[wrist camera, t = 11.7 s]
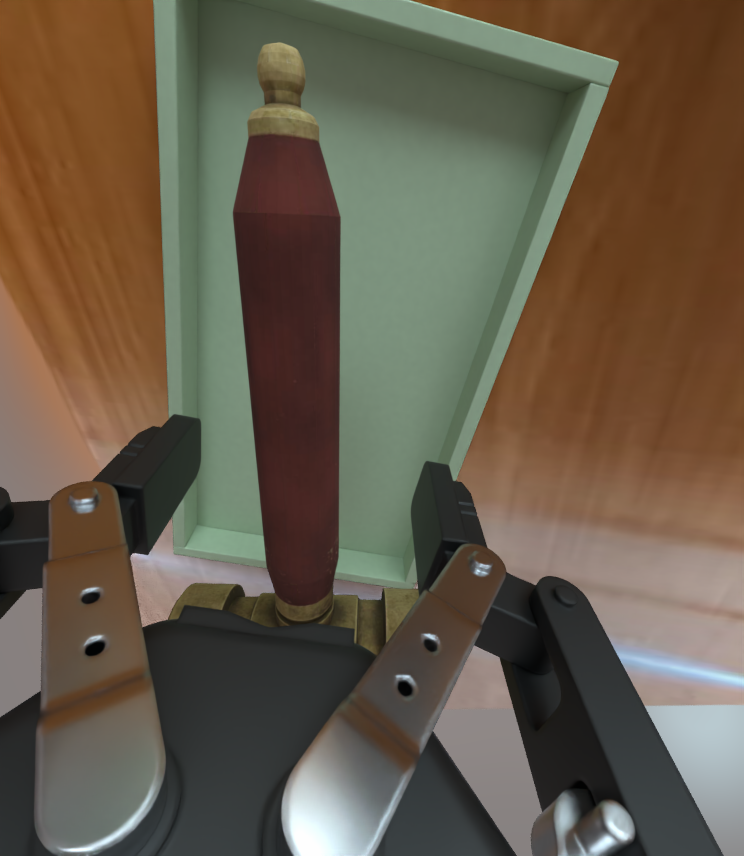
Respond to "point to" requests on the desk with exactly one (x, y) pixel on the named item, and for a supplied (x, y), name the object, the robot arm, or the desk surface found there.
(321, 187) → the gavel
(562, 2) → the desk surface
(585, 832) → the robot arm
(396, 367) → the tray
